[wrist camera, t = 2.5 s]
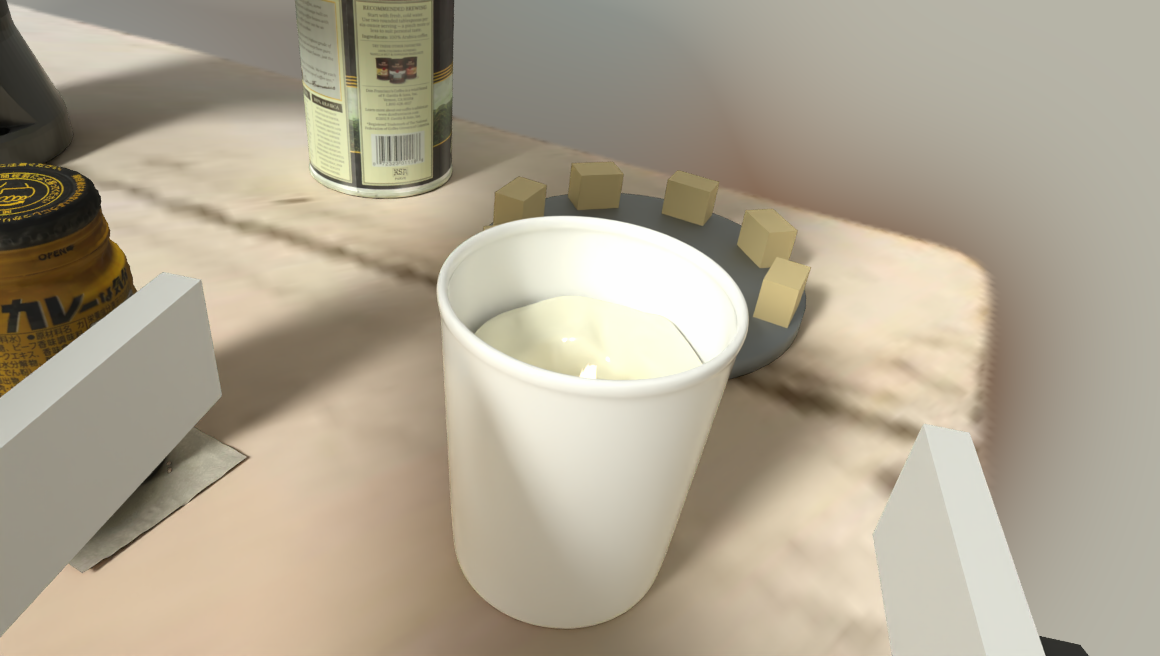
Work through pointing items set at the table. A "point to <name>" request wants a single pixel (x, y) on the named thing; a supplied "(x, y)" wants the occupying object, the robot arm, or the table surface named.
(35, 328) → the condiment
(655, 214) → the ring seat
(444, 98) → the coffee can
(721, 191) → the table surface
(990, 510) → the robot arm
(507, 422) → the candle holder
